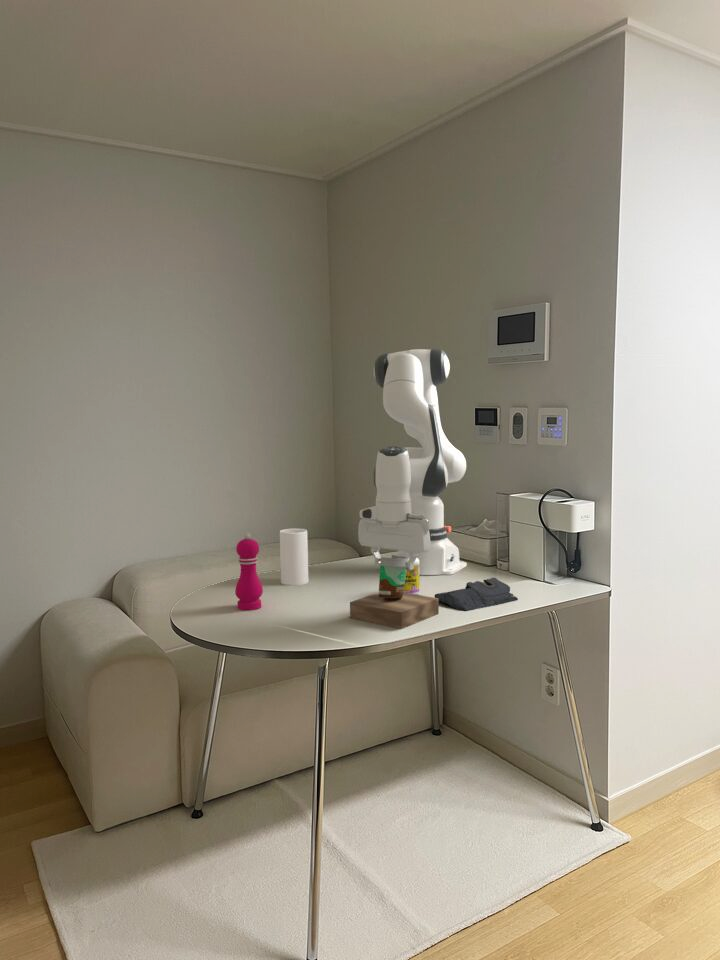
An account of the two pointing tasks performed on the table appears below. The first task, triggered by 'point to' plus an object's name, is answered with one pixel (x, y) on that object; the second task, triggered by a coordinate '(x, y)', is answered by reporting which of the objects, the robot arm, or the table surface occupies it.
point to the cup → (294, 556)
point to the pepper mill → (248, 575)
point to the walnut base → (394, 609)
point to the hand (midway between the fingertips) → (394, 566)
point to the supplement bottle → (411, 576)
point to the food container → (392, 576)
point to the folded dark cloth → (478, 595)
